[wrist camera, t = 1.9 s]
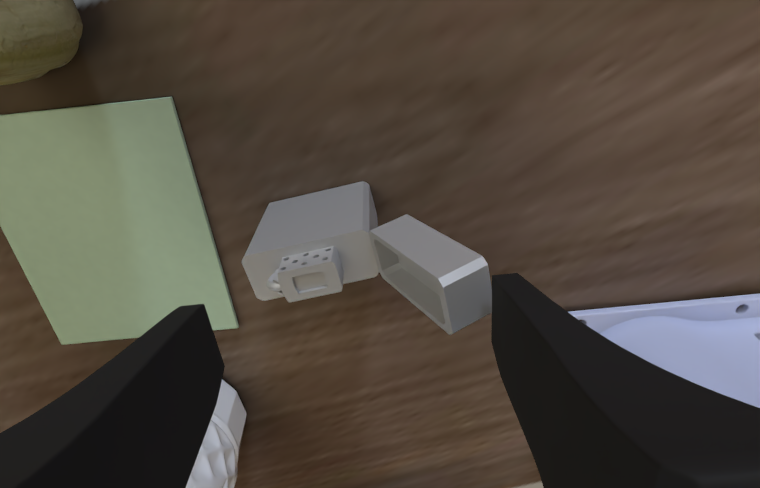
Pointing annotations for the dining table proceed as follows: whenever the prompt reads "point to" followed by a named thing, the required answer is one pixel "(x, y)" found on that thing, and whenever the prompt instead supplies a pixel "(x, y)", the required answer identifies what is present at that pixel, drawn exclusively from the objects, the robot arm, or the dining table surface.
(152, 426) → the robot arm
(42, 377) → the dining table surface
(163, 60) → the dining table surface
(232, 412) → the white cup
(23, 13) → the fennel bulb
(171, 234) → the sticky note
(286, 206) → the lighter
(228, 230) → the dining table surface
